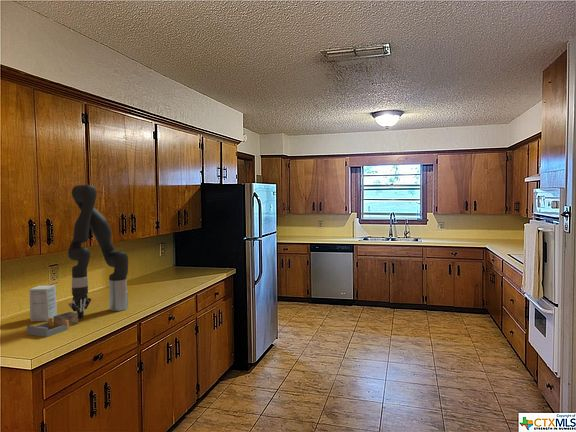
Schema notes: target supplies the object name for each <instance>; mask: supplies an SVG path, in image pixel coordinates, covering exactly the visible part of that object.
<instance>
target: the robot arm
mask: <svg viewBox="0 0 576 432" xmlns="http://www.w3.org/2000/svg"><path fill="white" fill-rule="evenodd" d="M97 195H98V192H97V189H96V187H95V186H94V185H92V184H77V185H74V186H73V187H72V189H71V197H72V199H73V201H74V202H75V204H76V205H77V207H78V208H79V210H80V212H79V213H80V214H79V215H78V217H77V219H76V221H75V223H74V227H73V233H72V240H71V242H70V245H69V248H68V251H67V255H68V258H69V259H70V260H71V261H77V264H76V265H73V266H72V268H71V295H72V301H71V302H69V303H68V306H69V307H70V308H71V309H72V311H73V312H76V313H78V320H82V319H84V316H85V312H84V311H85V310H87V309H88V307H89V304H90V303H91V301H92V298H90V297H89V296H88V294H89V280H88V267H89V262H90V259H91V252H90V249H89V248H87V247H85V246H83V244H84V243H87V242H88V240H89V234H90V230H91V232H92V234H93V237H94V238H95V240H96V241H97V244H98V246H99V248H100V250H101V253H102V256H103V258H104V261H105V263H106V265H107V266H109V267H111V268H113V269H114V270H113V273H110V274H109V276H108V285H109V287H108V289H109V291H108V292H109V294H108V295H109V310H110V311H111V312H121V311H125V310H128V308H129V292H128V288H127V287H128V286H127V285H128V284H127V283H128V282H127V280H128V279H127V276H128V273H129V258H128V257H129V256H128V254H127V253H126V252H125V251H118V250H116V248H115V246H114V245H113V242H112V228H111V226H110V224H109V222H108V220H107V219H106V217H105V216H104V215H103V214H102V213H101V212H100V211H99V210H97V208H96V207H95V203H96V200H97Z"/></svg>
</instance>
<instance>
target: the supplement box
mask: <svg viewBox="0 0 576 432" xmlns="http://www.w3.org/2000/svg"><path fill="white" fill-rule="evenodd" d="M28 291H29V292H28V293H29V311H30V312H29V314H30V315H29V316H30V322H48V318H52V319H53V320H54V316H57V315H58V307H57V306H58V305H57V302H58V301H57V286H56V285H37V286H35V287H32V288H30V289H29V290H28Z"/></svg>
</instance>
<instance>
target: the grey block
mask: <svg viewBox="0 0 576 432" xmlns="http://www.w3.org/2000/svg"><path fill="white" fill-rule="evenodd" d="M65 320H69V328H70V327H73V326H76V324H77V325H79V319H78V313H77V312H74V311H73V312H72V311H68V312H65V313H61V314H57V316H54V318H53V328H56V327H59V326H62V325H65Z"/></svg>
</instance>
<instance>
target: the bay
mask: <svg viewBox="0 0 576 432" xmlns="http://www.w3.org/2000/svg"><path fill="white" fill-rule="evenodd" d="M52 321H53V320H52V318H48V321H46V322H45V323H42V324H38V325H30V324H29V325H26V335H28V336H29V335H30V336H35V337H36V336H37V337H41V338H48V337H51V336H53V335H57V334H59V333H62V332H65V331H69V330H70V327H69V320H65V325H62V326H59V327H56V328H55V327H53V328H52V326H53V322H52Z"/></svg>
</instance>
